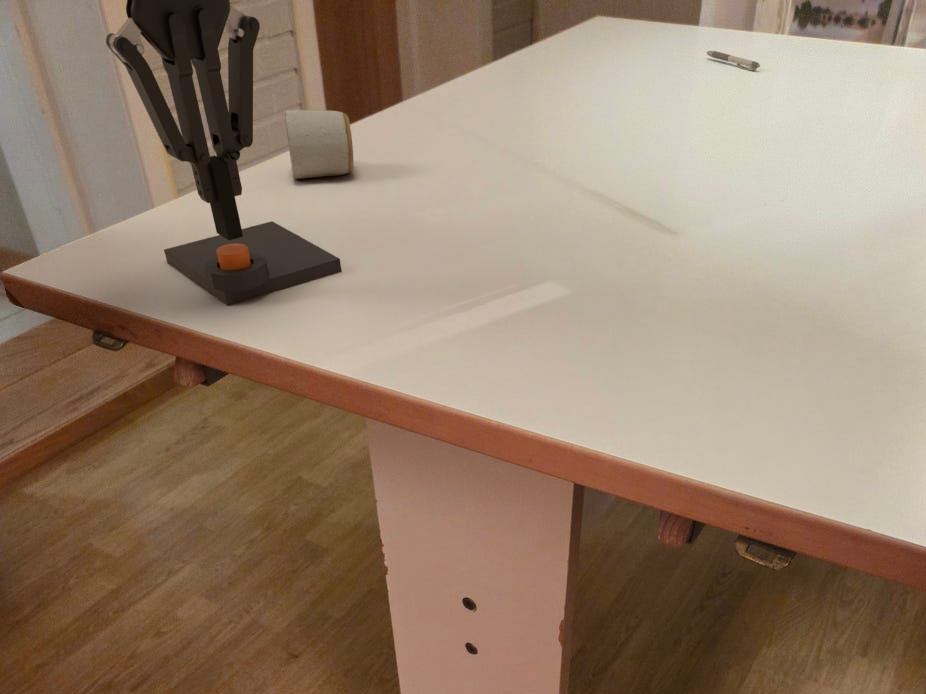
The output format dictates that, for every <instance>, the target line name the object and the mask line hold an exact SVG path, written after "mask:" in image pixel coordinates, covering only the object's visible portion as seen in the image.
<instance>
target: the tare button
mask: <svg viewBox="0 0 926 694" xmlns="http://www.w3.org/2000/svg"><path fill="white" fill-rule="evenodd" d="M217 256H218V260H219V264H220V269H222V270H228V271H229V270H240V269H243V268H247V267H249V266H251V261H250V256H249V251H248V247H247V246H246V245H244V244H237V243H235V244H227V245H224V246H221V247H219V248H218V249H217Z"/></svg>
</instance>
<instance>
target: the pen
mask: <svg viewBox="0 0 926 694" xmlns="http://www.w3.org/2000/svg"><path fill="white" fill-rule="evenodd" d="M706 55H707V56H708V57H711V58H713V59H717V60H721V61H724V62H729V63H734V64H736V66H737V67H738V68H740V69H742V70H747V71H756V70H757V69H758V68H761V64H760V62H758V61H754V60H751V59H747V58H743V57H739V56H735V55H732V54H728V53H724V52H720V51H716V50H707V51H706Z"/></svg>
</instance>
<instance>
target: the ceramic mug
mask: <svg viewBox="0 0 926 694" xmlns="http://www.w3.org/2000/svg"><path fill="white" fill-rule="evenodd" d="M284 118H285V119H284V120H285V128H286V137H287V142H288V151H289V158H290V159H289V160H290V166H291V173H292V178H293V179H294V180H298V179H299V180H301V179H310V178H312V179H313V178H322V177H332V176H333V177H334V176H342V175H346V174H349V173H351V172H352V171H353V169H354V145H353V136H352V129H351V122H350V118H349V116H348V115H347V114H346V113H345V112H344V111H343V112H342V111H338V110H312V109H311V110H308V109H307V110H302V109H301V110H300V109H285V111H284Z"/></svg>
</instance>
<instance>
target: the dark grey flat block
mask: <svg viewBox="0 0 926 694" xmlns="http://www.w3.org/2000/svg"><path fill="white" fill-rule="evenodd" d="M242 233H243V237H240V238H237V239H233V240H227V239H226V238H224V237H222V236H221V235H219V234H218V235H215V236H211V237H206V238H203V239H199V240H195V241H192V242H187V243H184V244H179V245H176V246H172V247H168V248H164V249H163V252H164V255H165V256H164V257H165V259H166V262H167V264H169V265H170V266H171V267H173V268H174V269H176V270H177V271H178V272H180V273H181V274H182V275H184V276H185V277H187V278H188V279H189V280H191V281H192V282H193V283H195V284H196V285H198V286H199V287H200V288H202V289H203V290H204V291H206V292H208V293H209V294H210V295H212V296H213V297H214V298H216V299H217V300H218V301H220V302H221V303H222V304H224V305H225V306H227V307H230V306H233V305H236V304H241V303H242V302H247V301H249V300H252V299H256V298H259V297H263V296H266V295H269V294H272V293H277V292H280V291H283V290H286V289H290V288H292V287H296V286H299V285H302V284H306V283H309V282H313V281H315V280H319V279H322V278H325V277H329V276H332V275H335V274H339V273H342V265H341V259H340V258H339V257H338V256H336V255H334V254H332V253H331V252H329V251H327V250H325V249H323V248H322V247H319V246H318V245H316V244H315V243H313V242H310V241H309V240H307V239H305V238H303V237H302V236H300V235H298V234H297V233H294V232H292V231H291V230H290V229H287V228H285V227H283V226H282V225H280V224H278V223H276V222H275V221H273V220H272V221H268V222H264V223H260V224H255V225H252V226H248V227H244V228H242ZM235 243H237V244H244V245H246V246H247V247H248V251H249V256H250V261H251V266H249V267H247V268H243V269H240V270H229V271H228V270H222V269H220V264H219V260H218V256H217V249H218V248H219V247H221V246H224V245H227V244H235Z"/></svg>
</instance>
